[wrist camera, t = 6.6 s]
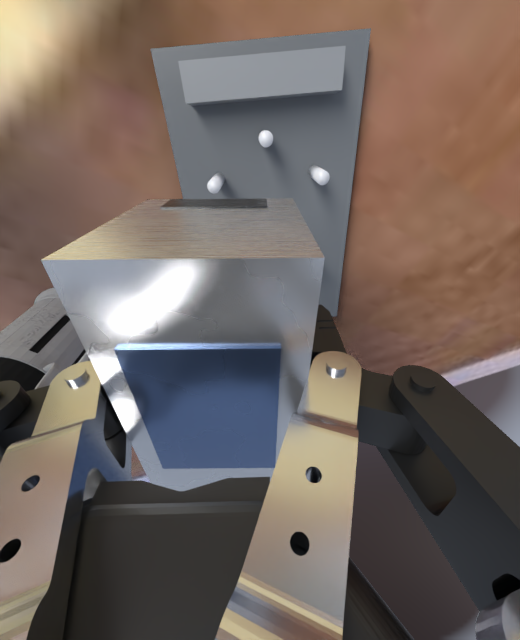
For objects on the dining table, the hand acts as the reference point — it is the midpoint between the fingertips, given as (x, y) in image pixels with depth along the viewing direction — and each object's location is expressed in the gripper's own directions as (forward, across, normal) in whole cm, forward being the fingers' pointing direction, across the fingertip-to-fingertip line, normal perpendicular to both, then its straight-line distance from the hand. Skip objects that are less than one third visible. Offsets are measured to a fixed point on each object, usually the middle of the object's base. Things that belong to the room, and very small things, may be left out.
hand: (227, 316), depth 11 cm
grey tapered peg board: (+16, -2, 0) cm, 16 cm away
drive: (+1, 0, 0) cm, 1 cm away
